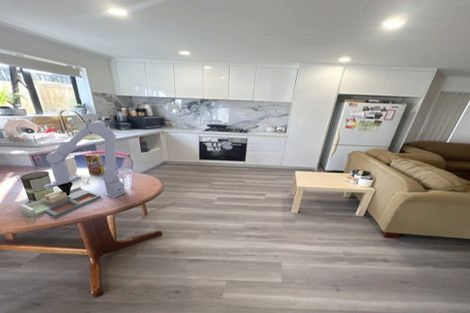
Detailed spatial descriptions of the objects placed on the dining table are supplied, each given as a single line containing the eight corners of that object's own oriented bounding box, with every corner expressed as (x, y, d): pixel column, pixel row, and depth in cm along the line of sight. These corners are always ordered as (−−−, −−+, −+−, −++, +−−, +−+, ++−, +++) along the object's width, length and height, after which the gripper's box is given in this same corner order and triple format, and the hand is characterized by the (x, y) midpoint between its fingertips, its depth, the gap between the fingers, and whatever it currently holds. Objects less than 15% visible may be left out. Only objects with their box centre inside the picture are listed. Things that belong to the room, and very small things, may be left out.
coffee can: (23, 203, 90) (14, 179, 86) (35, 194, 99) (28, 172, 95) (49, 200, 94) (41, 177, 90) (59, 191, 103) (52, 170, 99)
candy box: (88, 174, 127) (84, 155, 123) (92, 172, 131) (88, 153, 127) (101, 174, 128) (97, 155, 124) (105, 172, 132) (101, 153, 128)
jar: (71, 173, 128) (66, 154, 124) (82, 174, 127) (78, 155, 123) (55, 178, 118) (49, 158, 114) (67, 180, 117) (62, 160, 113)
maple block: (67, 199, 92) (65, 192, 91) (53, 204, 87) (50, 198, 86) (61, 196, 94) (59, 190, 93) (46, 202, 89) (44, 195, 88)
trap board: (101, 198, 98) (99, 191, 97) (44, 223, 76) (41, 215, 75) (80, 191, 104) (78, 184, 103) (23, 212, 83) (19, 204, 82)
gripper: (73, 167, 98) (78, 188, 102) (38, 176, 85) (45, 199, 89) (80, 169, 96) (85, 190, 100) (45, 179, 83) (53, 203, 87)
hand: (67, 195), depth 94 cm, fingers closed
